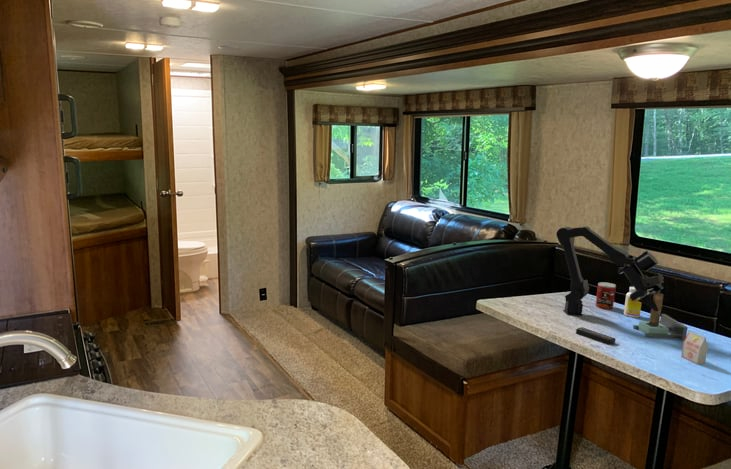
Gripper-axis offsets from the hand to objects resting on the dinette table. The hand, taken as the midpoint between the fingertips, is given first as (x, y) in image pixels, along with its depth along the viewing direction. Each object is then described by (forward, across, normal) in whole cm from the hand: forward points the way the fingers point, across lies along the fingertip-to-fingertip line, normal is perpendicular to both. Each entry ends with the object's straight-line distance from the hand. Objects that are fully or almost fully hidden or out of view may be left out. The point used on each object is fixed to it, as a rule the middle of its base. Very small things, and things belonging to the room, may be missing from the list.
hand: (659, 310), depth 224 cm
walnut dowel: (+4, 0, +6) cm, 7 cm away
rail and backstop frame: (+7, +1, +7) cm, 10 cm away
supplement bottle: (-5, +17, +20) cm, 26 cm away
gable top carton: (+22, -17, -7) cm, 28 cm away
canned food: (-15, +18, +30) cm, 38 cm away
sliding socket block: (+6, 0, +8) cm, 10 cm away
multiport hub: (-1, -26, +16) cm, 31 cm away
